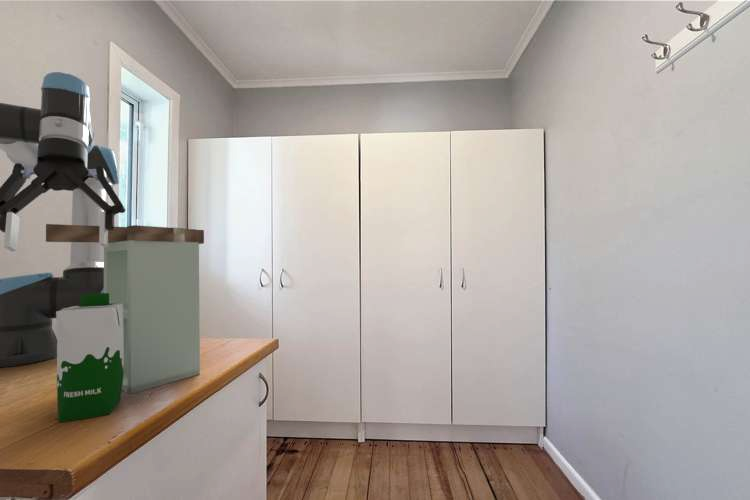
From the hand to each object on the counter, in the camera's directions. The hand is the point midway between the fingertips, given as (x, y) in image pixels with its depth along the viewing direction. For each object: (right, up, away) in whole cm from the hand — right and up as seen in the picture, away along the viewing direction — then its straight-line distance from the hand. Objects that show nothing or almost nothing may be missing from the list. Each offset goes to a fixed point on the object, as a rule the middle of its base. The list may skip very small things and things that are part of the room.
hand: (59, 247), depth 67 cm
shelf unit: (+10, -29, +13) cm, 33 cm away
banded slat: (+13, +1, +11) cm, 17 cm away
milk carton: (+10, -29, -5) cm, 31 cm away
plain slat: (+6, +1, +11) cm, 13 cm away
